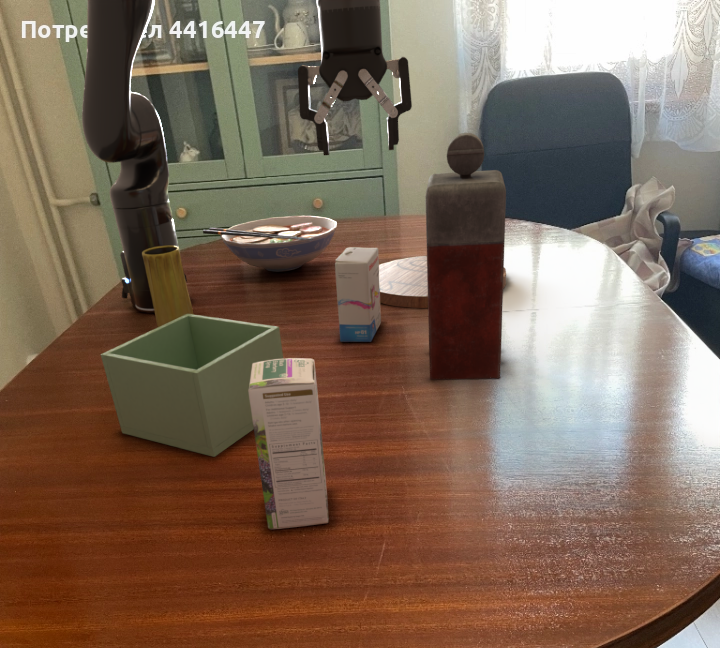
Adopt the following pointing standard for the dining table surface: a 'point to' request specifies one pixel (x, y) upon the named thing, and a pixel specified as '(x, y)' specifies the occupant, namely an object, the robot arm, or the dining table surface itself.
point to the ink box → (358, 294)
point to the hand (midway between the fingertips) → (358, 152)
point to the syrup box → (289, 441)
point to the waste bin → (189, 381)
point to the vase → (167, 283)
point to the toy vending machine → (465, 265)
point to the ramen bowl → (278, 240)
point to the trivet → (406, 282)
